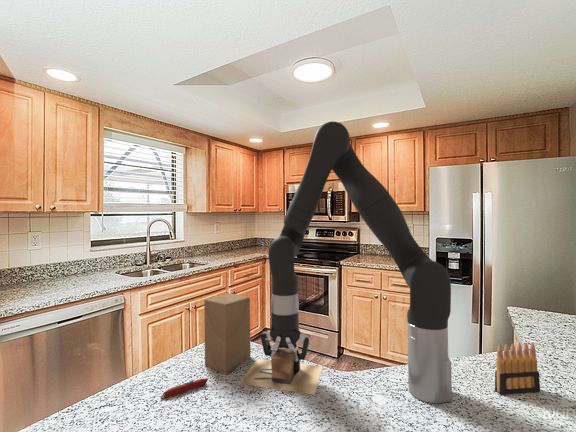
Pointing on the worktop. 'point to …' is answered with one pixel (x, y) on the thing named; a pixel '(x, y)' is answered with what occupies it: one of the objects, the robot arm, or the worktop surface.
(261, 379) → the pine board
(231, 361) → the wooden block
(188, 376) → the worktop surface
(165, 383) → the worktop surface
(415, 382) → the robot arm
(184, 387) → the utility knife
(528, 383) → the ammunition clip
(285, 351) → the block
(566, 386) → the worktop surface
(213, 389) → the worktop surface
